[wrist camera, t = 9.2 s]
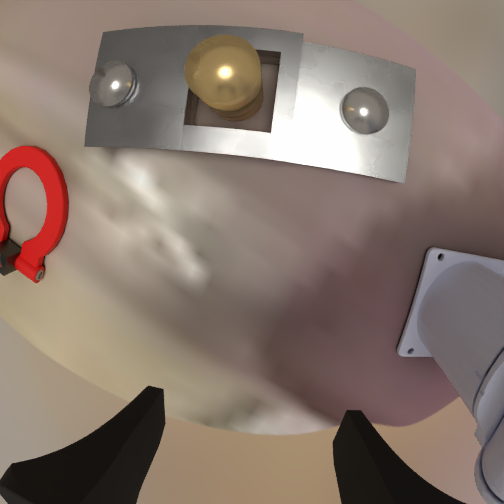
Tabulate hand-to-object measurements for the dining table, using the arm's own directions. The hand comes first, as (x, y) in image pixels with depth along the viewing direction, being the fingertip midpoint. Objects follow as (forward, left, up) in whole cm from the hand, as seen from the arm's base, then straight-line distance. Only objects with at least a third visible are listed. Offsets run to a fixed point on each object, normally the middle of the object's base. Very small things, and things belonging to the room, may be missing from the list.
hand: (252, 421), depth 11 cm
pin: (+3, -13, -9) cm, 16 cm away
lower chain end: (0, -13, -9) cm, 16 cm away
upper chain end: (+5, -13, -9) cm, 17 cm away
